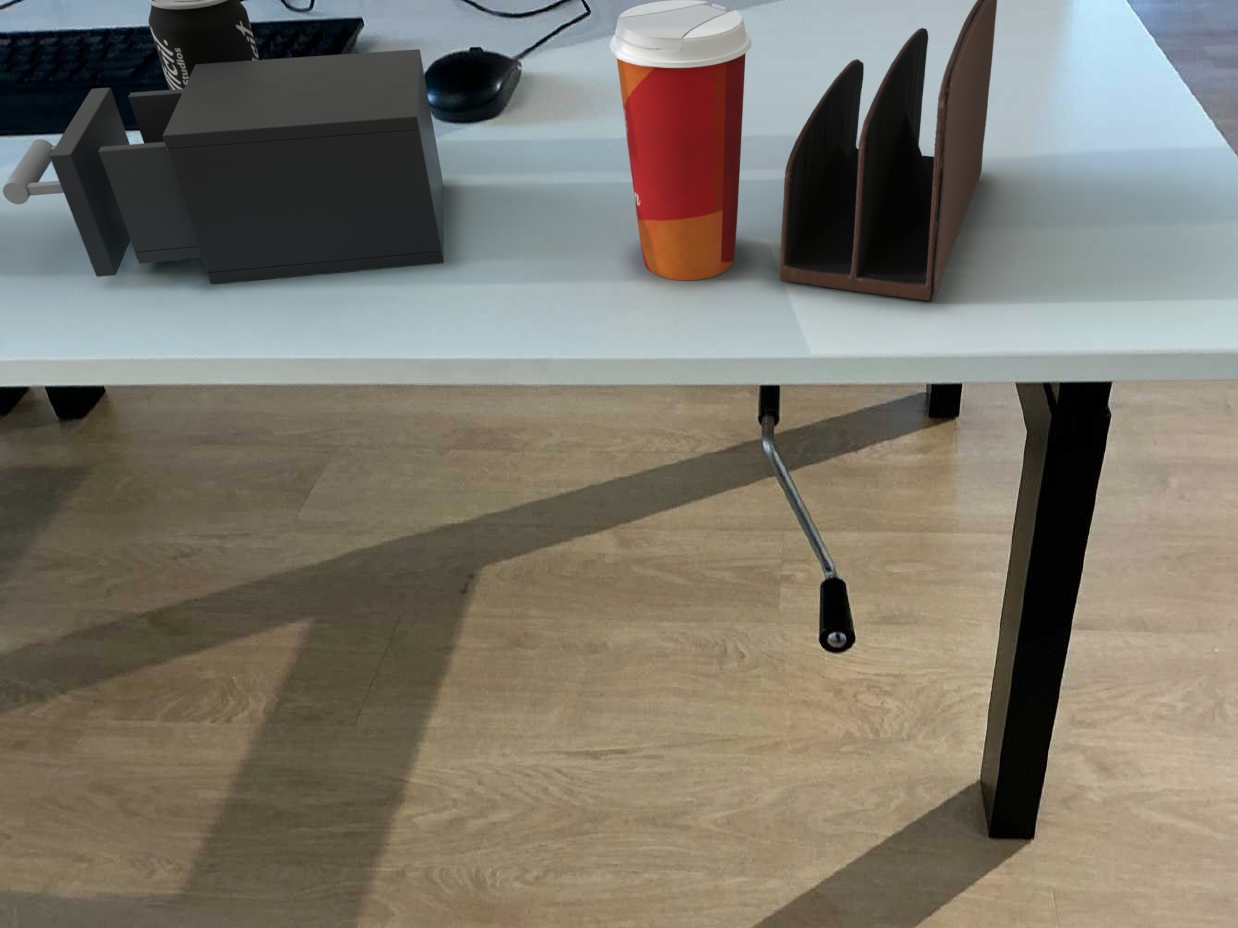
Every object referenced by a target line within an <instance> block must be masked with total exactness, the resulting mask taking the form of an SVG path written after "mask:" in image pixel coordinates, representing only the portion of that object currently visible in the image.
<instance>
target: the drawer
mask: <svg viewBox="0 0 1238 928" xmlns="http://www.w3.org/2000/svg"><path fill="white" fill-rule="evenodd" d="M183 91H184V89H176V90H169V89H164V90H150V91H135V92H130V94H129V95H128V100H129V104H130V106H131V110H132V113H133V116H134V118H135V122H136V124H137V127H138V131H139V134H140V136H141V139H142V142H143V143H131V144H130V141H129V138H128V135H127V132H126V129H125V126H124V123H123V120H122V117H121V115H120V112H119V108H118V105H117V103H116V100H115V97H114V94H113V91H112V88H111V87H99V88H97V87H96V88H91V89H90V91H89V92H88V94H87V96H86V97H85V99H84V100H83V102H82V104H81V106H80V107H79V108H78V110H77V111H76V113H75V114H74V116H73V118H72V120H71V121H70V123H69V125H67V128H66V129H65V131H64V132H63V134H62V136H60V139H59V140H58V141H57V144H56V145H53V144H52V143H51V142H50V141H48V140H45V139H35V140H33V141H32V143H31V145H30V146H29V148H28V149H27V150H26V152H25V153H24V155H23V156H22V158H21V159H20V161H19V162H18V164H17V165H16V167H15V168H14V170H13V171H12V173H11V174H10V176H9V177H8V178H7V180H6V182H5V183H4V185H3V187H2V188H1V189H2V192H1V193H2V194H3V195H2V196H3V197H4V198H5V199H6V200H7V201H8V202H9V203H12V204H15V205H23V204H25V203H27V201H28V200H29V199H30V197H31V196H42V195H43V196H44V195H54V194H55V195H56V194H64V197H65V200H66V202H67V205H68V208H69V210H70V213H71V216H72V217H73V221H74V223H75V225H76V228H77V230H78V233H79V235H80V239H81V241H82V243H83V246H84V249H85V251H86V253H87V256H88V259H89V261H90V264H91V266H92V269H93V271H94V274H95V276H96V277H97V278H98V277H112V276H116V275H117V273H118V272H119V269H120V267H121V265H122V262H123V260H124V259H125V256H126V253H127V251H128V248H129V247H130V244H131V245H132V248H133V251H134V255H135V256H136V259H137V262H138V264H151V263H162V262H163V263H165V262H173V261H185V260H197V259H202V256H201V253H200V249H199V246H198V243H197V240H196V237H195V234H194V231H193V228H192V225H191V222H190V219H189V215H188V212H187V209H186V206H185V203H184V200H183V197H182V194H181V191H180V188H179V185H178V182H177V178H176V175H175V172H174V169H173V166H172V163H171V160H170V157H169V154H168V151H167V148H166V145H165V142H164V139H163V134H164V132H165V130H166V128H167V125H168V123H169V121H170V119H171V117H172V115H173V112H174V110H175V108H176V106H177V104H178V102H179V99H180V97H181V95H182V93H183ZM50 164H52V166H53V170H54V172H55V174H56V176H57V179H58V180H51V181H41V179H42V178H43V176H44V174H45V173H46V171H47V169H48V168H49V166H50Z"/></svg>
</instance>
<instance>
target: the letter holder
mask: <svg viewBox="0 0 1238 928" xmlns="http://www.w3.org/2000/svg"><path fill="white" fill-rule="evenodd" d="M997 7H998V0H976V1H975V3H974V4H973V6H972V8H971V9H970V11H969V13H968V15H967V16H966V18H965V20H964V22H963V24H962V27H961V28H960V32H959V34H958V36H957V38H956V41H955V44H954V46H953V48H952V51H951V53H950V56H949V58H948V61H947V64H946V67H945V70H944V73H943V76H942V80H941V84H940V87H939V92H938V98H937V108H936V125H935V138H934V154H933V155H923V153H922V151H921V148H920V136H921V124H922V111H923V98H924V87H925V79H926V78H925V77H926V65H927V55H928V53H927V52H928V43H929V32H928V30H927V28H924V27H920V28H918V29H917V30H916V31H915V32H913V34H912V35H911V36H910V37H909V38H908V39H907V41H906V42H905V43H904V44H903V45H902V47H901V48H900V50H899V52H898V53H897V54H896V56H895V58H894V59H893V61H892V62H891V63H890V66H889V68H888V70H887V71H886V73H885V75H884V76H883V79H882V81H881V83H880V85H879V87H878V89H877V91H876V93H875V95H874V97H873V99H872V102H871V104H870V106H869V109H868V112H866V113H867V114H866V116H865V118H864V120H863V123H862V126H861V130H860V135H859V141H858V147H857V140H858V134H859V133H858V132H859V120H860V108H861V96H862V90H863V89H862V88H863V83H864V71H865V70H864V69H865V65H864V62H862V61H861V60H860V59H856V58H855V59H853V60H851V61H850V62H849V63H848V64H847V65H846V66H845V67H844V68H843V69H842V70H841V71H840V73H838V75H837V76H836V77H835V78H834V80H833V81H832V83H831V84H830V85H829V87H828V88H827V89H826V91H825V93H823V95H822V97H821V98H820V100H819V101H818V102H817V104H816V105H815V107H814V108H813V110H812V112H811V113H810V114H809V116H808V118H807V120H806V122H805V123H804V125H803V127H802V128H801V130H800V132H799V135H798V136H797V138H796V140H795V142H794V144H793V147H792V149H791V151H790V153H789V157H788V159H787V162H786V166H785V170H784V181H783V201H782V221H781V236H780V253H779V254H780V255H779V256H780V257H779V258H780V259H779V273H778V275H779V280H780V281H782V282H785V283H792V284H802V285H807V286H814V287H822V288H827V289H833V290H844V291H850V292H857V293H863V294H870V295H871V294H872V295H878V296H884V297H885V296H886V297H894V298H901V299H908V300H909V299H910V300H917V301H922V302H932V301H933V300H934V299H935V298H936V296H937V293H938V289H939V286H940V283H941V280H942V278H943V274H944V271H945V269H946V266H947V263H948V261H949V258H950V257H951V253H952V252H953V248H954V246H955V243H956V241H957V238H958V235H959V232H960V230H961V228H962V224H963V222H964V219H965V216H966V214H967V211H968V209H969V206H970V203H971V200H972V198H973V195H974V192H975V189H976V186H977V184H978V182H979V181H980V178H981V174H982V170H983V158H984V157H983V156H984V144H985V136H986V135H985V134H986V126H987V125H986V124H987V117H988V109H989V108H988V107H989V97H990V95H989V94H990V87H991V86H990V85H991V84H990V83H991V76H992V64H993V56H994V44H995V43H994V42H995V31H996V29H995V28H996V20H997V19H996V18H997Z"/></svg>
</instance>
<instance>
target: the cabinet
mask: <svg viewBox="0 0 1238 928" xmlns="http://www.w3.org/2000/svg"><path fill="white" fill-rule="evenodd" d="M430 105H431V104H430V99H429V94H428V88H427V83H426V76H425V71H424V66H423V60H422V54H421V49H419V48H417V49H416V48H415V49H403V50H389V51H388V50H387V51H373V52H371V51H370V52H360V53H359V52H358V53H345V54H344V53H343V54H342V53H341V54H327V55H316V56H315V55H314V56H300V57H285V58H283V57H282V58H271V59H270V58H269V59H268V58H267V59H259V60H254V61H239V62H224V63H209V64H196V65H195V67H194V69H193V71H192V73H191V76H190V78H189V80H188V82H187V84H186V86H185V89H184V91H183V93H182V95H181V97H180V99H179V102H178V104H177V106H176V108H175V110H174V112H173V115H172V117H171V119H170V121H169V123H168V125H167V128H166V130H165V132H164V134H163V139H164V142H165V145H166V148H167V151H168V154H169V157H170V160H171V163H172V166H173V169H174V172H175V175H176V178H177V182H178V185H179V188H180V191H181V194H182V197H183V200H184V203H185V206H186V209H187V212H188V215H189V219H190V222H191V225H192V228H193V231H194V234H195V237H196V240H197V243H198V246H199V249H200V253H201V256H202V258H201V260H202V261H203V265H204V268H205V271H206V272H207V273H206V274H207V277H208V281H209V283H210V285H217V284H227V283H239V282H249V281H260V280H273V279H282V278H294V277H304V276H315V275H316V276H317V275H325V274H337V273H347V272H358V271H359V272H360V271H369V270H380V269H381V270H382V269H391V268H402V267H412V266H413V267H414V266H422V265H423V266H425V265H433V264H435V265H436V264H443V263H444V262H445V261H444V260H445V259H444V258H445V257H444V255H445V254H444V253H445V252H444V249H445V248H444V246H445V245H444V243H445V241H444V240H445V239H444V238H445V237H444V180H443V175H442V168H441V163H440V158H439V152H438V146H437V140H436V133H435V128H434V123H433V117H432V111H431V106H430Z"/></svg>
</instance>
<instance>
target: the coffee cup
mask: <svg viewBox="0 0 1238 928" xmlns="http://www.w3.org/2000/svg"><path fill="white" fill-rule="evenodd" d="M731 10H732V9H731V8H729V7H726V6H723V5H720V4H716V3H711V4H710V2H709V1H707V0H662V1H661V0H660V1H653V2H649V3H644V4H640V5H639V4H638V5H636V6H634V7H631V8H628V9H627V10H625V11H623V12H621V13H620V14H619V16H618V18H617V20H616V28H615V32H614V34H613V36H612V37H611V39H610V42H609V50H610V51H611V53H612V54H613V55H614V56H615V57H616V61H617V72H618V78H619V86H620V93H621V102H622V110H623V117H624V127H625V134H626V143H627V149H628V150H627V151H628V157H629V158H628V159H629V166H630V174H631V181H632V190H633V196H634V197H633V198H634V206H635V213H636V219H637V227H638V234H639V240H640V248H641V254H642V260H643V264H644V266H645V268H646V269H647V270H648V271H650V272H651V273H653V274H654V275H656V276H659V277H662V278H666V279H670V280H675V281H697V280H699V281H700V280H704V279H705V280H706V279H709V278H713V277H715V276H718V275H721V274H722V273H724V272H726V271H727V270H728V269H730V267H732V265H733V263H734V260H735V251H736V242H737V230H738V229H737V227H738V226H737V225H738V213H739V212H738V211H739V195H740V194H739V191H740V174H741V156H742V155H741V154H742V136H743V135H742V133H743V115H744V114H743V113H744V95H745V94H744V93H745V72H746V56H747V55H746V54H747V52H749V51H750V49H751V48H752V45H753V44H752V42H753V41H752V38H751V36H750V34H749V33H748V31H746V25H745V20H744V17H743V15H742V14H741V12H740V11H739V10H737V9H735V10H732V11H731Z"/></svg>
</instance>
